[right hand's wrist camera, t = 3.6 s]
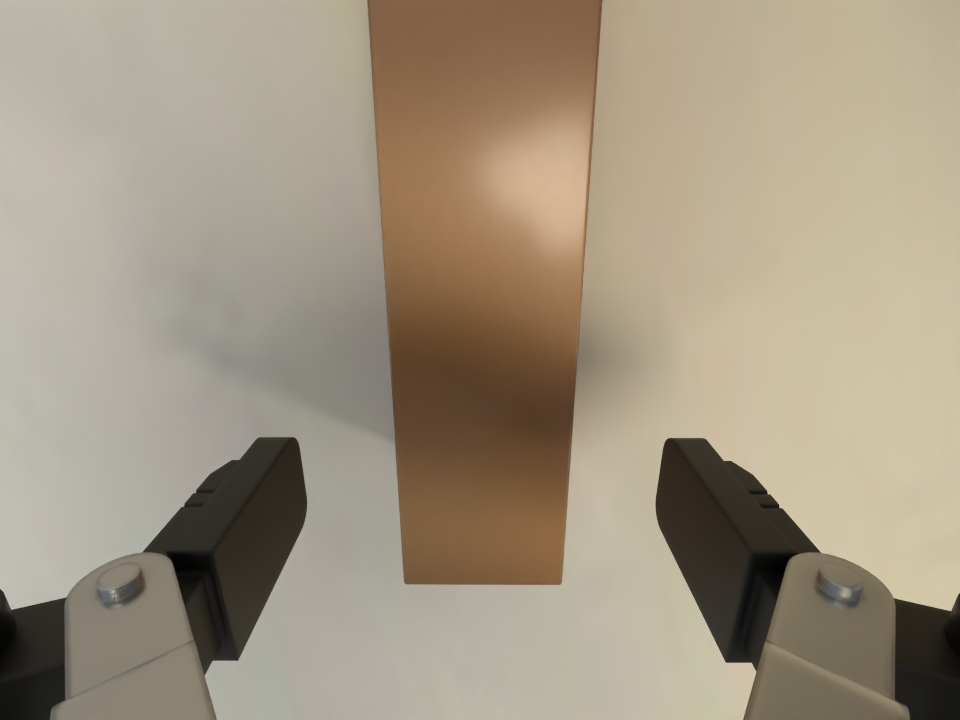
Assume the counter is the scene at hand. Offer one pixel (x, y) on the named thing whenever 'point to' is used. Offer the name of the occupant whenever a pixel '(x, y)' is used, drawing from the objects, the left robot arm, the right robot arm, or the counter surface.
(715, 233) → the counter surface
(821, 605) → the right robot arm
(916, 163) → the counter surface
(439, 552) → the bar
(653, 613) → the counter surface
